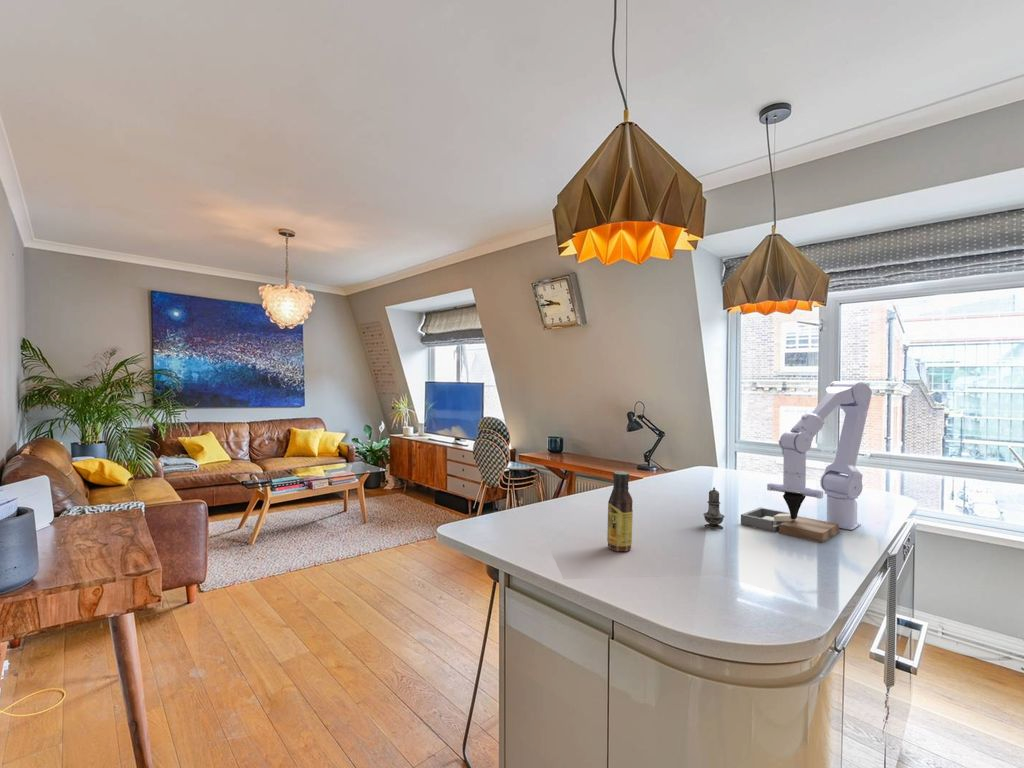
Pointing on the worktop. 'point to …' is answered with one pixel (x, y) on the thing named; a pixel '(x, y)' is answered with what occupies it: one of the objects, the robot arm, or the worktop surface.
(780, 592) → the worktop surface
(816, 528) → the walnut board
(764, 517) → the sage tile
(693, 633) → the worktop surface
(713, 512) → the salt shaker
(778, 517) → the cream tile
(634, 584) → the worktop surface
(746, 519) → the tray
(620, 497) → the sauce bottle
